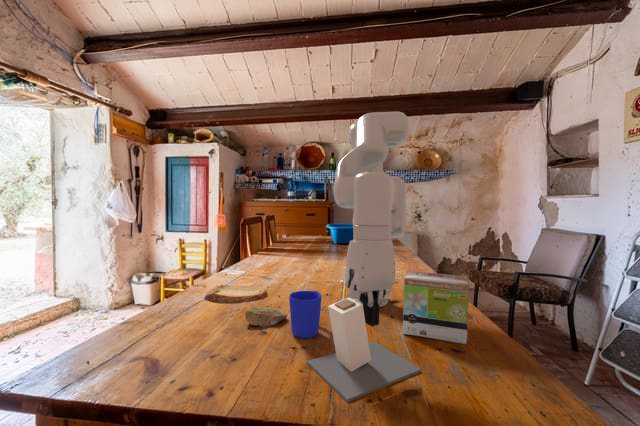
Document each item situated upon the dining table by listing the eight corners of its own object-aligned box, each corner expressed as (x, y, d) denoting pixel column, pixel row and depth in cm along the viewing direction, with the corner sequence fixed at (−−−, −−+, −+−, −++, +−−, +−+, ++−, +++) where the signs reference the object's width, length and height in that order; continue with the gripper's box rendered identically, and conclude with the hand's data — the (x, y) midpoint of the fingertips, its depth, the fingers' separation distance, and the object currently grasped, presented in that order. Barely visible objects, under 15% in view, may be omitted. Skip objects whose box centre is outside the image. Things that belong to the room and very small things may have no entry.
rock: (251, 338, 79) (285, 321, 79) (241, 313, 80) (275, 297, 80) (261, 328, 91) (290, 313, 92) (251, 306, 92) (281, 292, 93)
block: (355, 349, 64) (347, 295, 63) (371, 360, 60) (362, 302, 59) (337, 360, 62) (327, 304, 60) (351, 371, 58) (341, 311, 56)
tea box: (402, 335, 75) (403, 277, 75) (405, 321, 85) (405, 269, 84) (468, 345, 70) (469, 283, 70) (463, 329, 80) (464, 274, 79)
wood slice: (272, 295, 108) (272, 285, 108) (230, 309, 94) (230, 297, 94) (241, 287, 119) (241, 278, 119) (199, 298, 105) (199, 287, 105)
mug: (329, 324, 82) (330, 288, 82) (314, 343, 71) (315, 301, 70) (302, 320, 85) (302, 285, 84) (283, 338, 73) (283, 298, 73)
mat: (373, 343, 71) (373, 341, 71) (420, 372, 59) (420, 369, 59) (306, 364, 61) (306, 361, 61) (347, 402, 49) (347, 399, 49)
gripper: (385, 231, 68) (384, 311, 68) (331, 233, 60) (330, 324, 60) (411, 233, 61) (410, 322, 62) (354, 237, 53) (353, 338, 54)
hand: (370, 323), depth 61 cm, fingers closed
